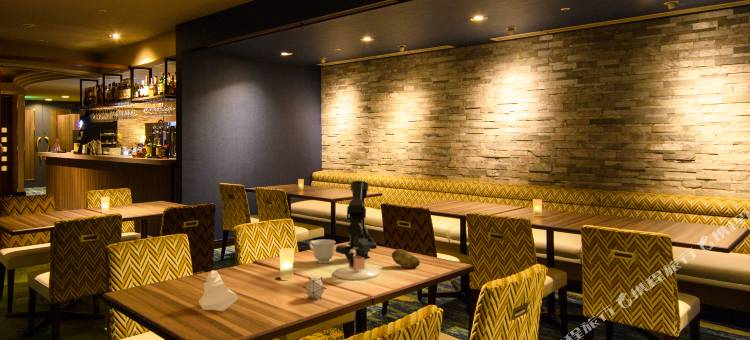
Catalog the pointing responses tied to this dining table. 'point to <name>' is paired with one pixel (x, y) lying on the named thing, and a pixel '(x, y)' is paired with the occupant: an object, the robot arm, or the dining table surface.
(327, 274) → the dining table surface
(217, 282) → the cream irregular lump
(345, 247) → the robot arm
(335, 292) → the dining table surface
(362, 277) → the plate
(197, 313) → the dining table surface
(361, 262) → the block
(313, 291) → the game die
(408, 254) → the potato
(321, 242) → the teacup
